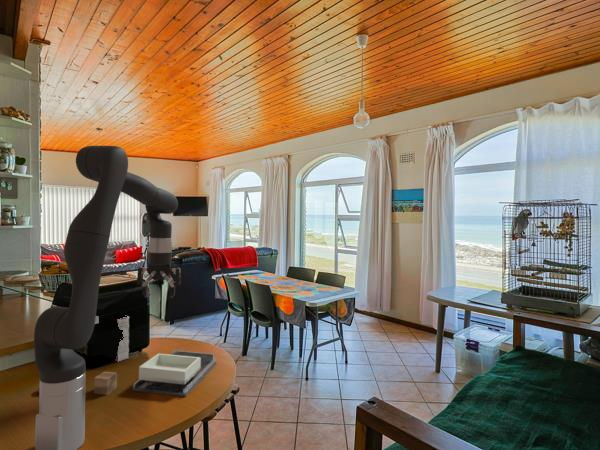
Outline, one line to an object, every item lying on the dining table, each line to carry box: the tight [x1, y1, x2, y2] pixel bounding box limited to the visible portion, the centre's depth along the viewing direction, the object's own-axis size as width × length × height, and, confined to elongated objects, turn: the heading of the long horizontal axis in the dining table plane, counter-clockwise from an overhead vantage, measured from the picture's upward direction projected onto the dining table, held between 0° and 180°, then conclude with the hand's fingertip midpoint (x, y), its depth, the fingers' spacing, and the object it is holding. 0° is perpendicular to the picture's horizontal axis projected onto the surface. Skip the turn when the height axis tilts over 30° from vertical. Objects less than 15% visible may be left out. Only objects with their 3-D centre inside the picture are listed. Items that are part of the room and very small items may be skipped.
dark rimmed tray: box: [131, 349, 217, 397], centre depth 126 cm, size 25×18×4 cm
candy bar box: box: [114, 315, 130, 363], centre depth 140 cm, size 11×5×16 cm, turn 58°
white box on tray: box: [138, 353, 201, 386], centre depth 121 cm, size 12×16×6 cm
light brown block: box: [93, 371, 118, 396], centre depth 115 cm, size 4×4×5 cm
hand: (158, 297), depth 127 cm, fingers open, 8 cm apart
